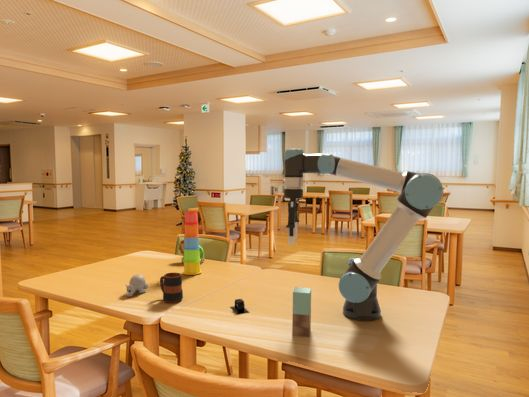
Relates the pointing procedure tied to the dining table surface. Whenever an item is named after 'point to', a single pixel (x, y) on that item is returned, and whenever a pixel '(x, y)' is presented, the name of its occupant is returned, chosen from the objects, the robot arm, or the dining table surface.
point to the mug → (172, 287)
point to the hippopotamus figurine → (136, 285)
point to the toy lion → (181, 246)
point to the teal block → (302, 301)
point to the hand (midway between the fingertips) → (292, 241)
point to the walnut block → (301, 325)
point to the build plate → (239, 307)
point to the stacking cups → (191, 244)
